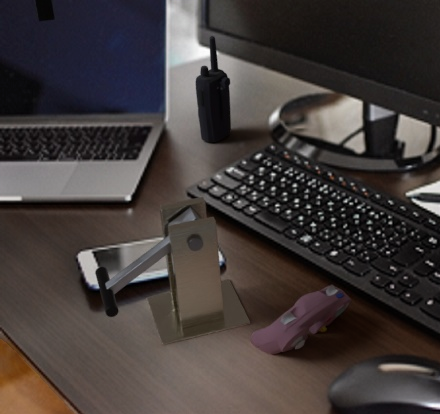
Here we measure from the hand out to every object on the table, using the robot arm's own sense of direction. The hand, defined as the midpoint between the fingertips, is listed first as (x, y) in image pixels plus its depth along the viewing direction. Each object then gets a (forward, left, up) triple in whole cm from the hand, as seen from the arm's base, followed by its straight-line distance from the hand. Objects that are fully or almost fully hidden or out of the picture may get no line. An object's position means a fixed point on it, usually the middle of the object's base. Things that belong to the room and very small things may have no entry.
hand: (45, 16), depth 82 cm
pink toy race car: (+18, -23, -29) cm, 41 cm away
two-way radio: (+22, +24, -29) cm, 43 cm away
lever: (+6, -16, -21) cm, 27 cm away
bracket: (+9, -16, -28) cm, 34 cm away
